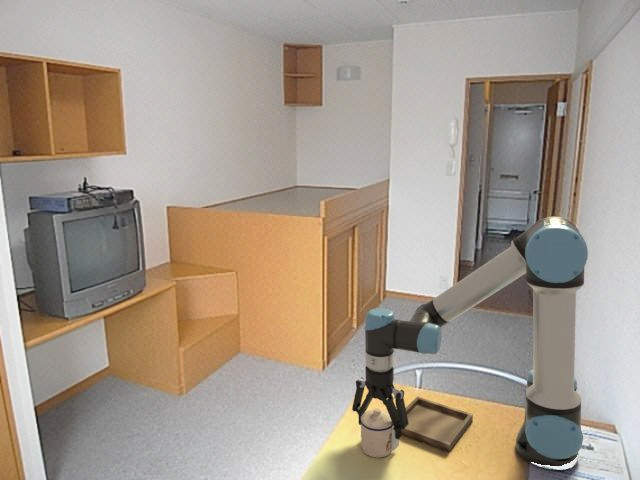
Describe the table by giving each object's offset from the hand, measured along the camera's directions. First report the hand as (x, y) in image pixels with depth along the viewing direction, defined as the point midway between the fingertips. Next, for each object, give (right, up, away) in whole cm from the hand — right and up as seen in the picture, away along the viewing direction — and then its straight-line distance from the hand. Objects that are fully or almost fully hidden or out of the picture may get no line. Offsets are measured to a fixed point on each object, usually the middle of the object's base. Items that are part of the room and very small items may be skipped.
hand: (379, 441), depth 133 cm
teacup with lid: (-1, -1, +1) cm, 2 cm away
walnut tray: (+17, +1, +9) cm, 19 cm away
